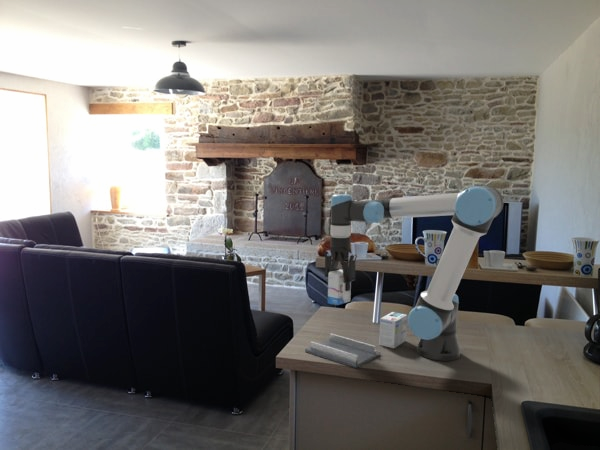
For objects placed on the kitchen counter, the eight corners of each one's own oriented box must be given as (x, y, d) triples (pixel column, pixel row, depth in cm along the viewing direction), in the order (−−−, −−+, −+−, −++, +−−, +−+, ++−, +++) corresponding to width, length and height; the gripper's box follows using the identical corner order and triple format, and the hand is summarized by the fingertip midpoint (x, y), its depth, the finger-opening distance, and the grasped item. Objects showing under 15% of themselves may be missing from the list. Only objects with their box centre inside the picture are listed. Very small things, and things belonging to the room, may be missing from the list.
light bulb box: (390, 337, 209) (391, 311, 208) (406, 341, 205) (407, 314, 204) (378, 345, 201) (379, 317, 199) (394, 349, 197) (395, 321, 195)
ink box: (338, 305, 193) (338, 274, 191) (327, 303, 196) (327, 272, 195) (351, 301, 199) (351, 270, 198) (340, 298, 203) (340, 268, 201)
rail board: (380, 354, 190) (380, 345, 190) (355, 368, 178) (356, 358, 178) (331, 340, 204) (331, 331, 204) (305, 351, 192) (305, 342, 192)
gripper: (366, 237, 191) (365, 300, 194) (327, 232, 203) (326, 291, 206) (354, 240, 186) (353, 304, 189) (315, 234, 198) (314, 295, 201)
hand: (339, 297), depth 197 cm, fingers closed on ink box, 5 cm apart
